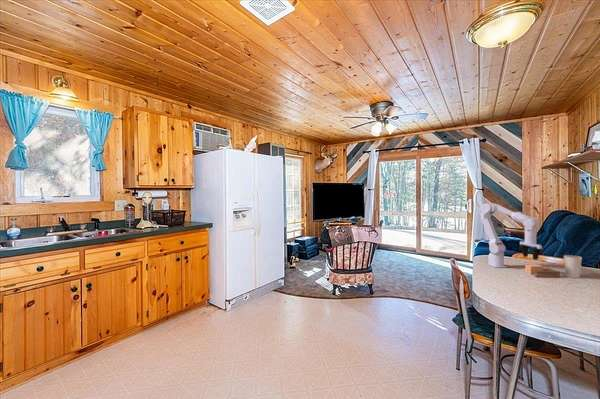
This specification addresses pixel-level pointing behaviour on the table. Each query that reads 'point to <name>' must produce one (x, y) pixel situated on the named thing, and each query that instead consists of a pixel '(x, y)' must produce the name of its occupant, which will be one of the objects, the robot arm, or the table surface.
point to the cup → (572, 266)
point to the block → (533, 268)
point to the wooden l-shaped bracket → (547, 273)
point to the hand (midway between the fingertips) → (530, 258)
